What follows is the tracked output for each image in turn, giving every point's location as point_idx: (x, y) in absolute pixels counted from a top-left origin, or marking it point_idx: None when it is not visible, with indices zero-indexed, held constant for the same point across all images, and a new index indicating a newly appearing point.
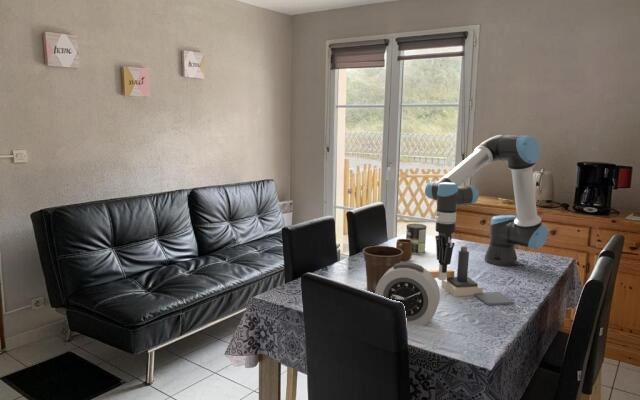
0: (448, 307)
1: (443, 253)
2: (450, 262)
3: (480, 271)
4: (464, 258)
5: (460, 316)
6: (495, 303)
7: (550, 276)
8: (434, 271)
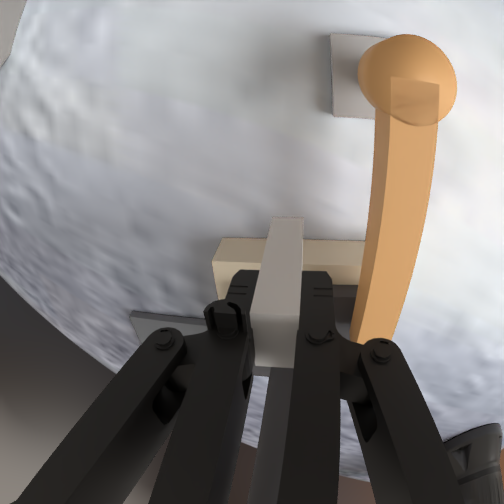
0: (84, 158)
1: (166, 460)
2: (161, 389)
3: (450, 407)
4: (253, 471)
5: (26, 179)
6: (140, 337)
7: (345, 471)
8: (392, 236)
